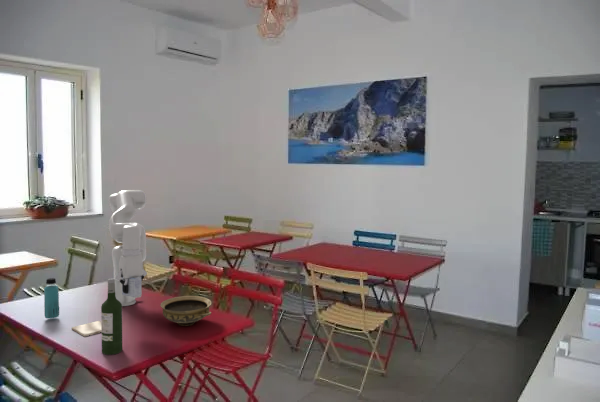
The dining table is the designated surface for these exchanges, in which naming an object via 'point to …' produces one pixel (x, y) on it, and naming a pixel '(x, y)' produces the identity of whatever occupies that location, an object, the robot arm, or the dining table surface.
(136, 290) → the medicine box
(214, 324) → the dining table surface
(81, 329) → the birch board
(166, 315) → the ceramic bowl
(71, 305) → the dining table surface
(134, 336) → the dining table surface
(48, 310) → the beverage bottle
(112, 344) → the wine bottle
